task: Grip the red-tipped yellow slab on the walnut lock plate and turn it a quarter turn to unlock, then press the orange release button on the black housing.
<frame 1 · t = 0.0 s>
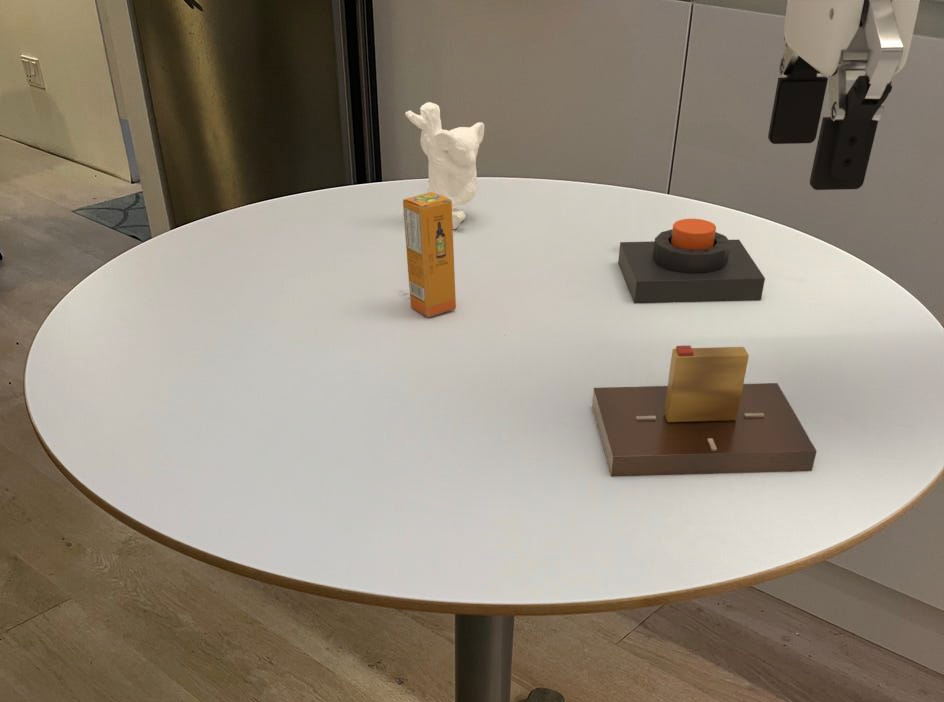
hand: (811, 163, 66), 19 cm above the table, tool pointing down, fingers open, 9 cm apart
white animal figurine: (447, 224, 112), on the table
release button: (693, 235, 96), point 4 cm above the table, slide at 0.1 cm
red-tipped yellow slab: (705, 383, 71), point 6 cm above the table, hinge at 0.0°
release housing: (686, 281, 99), on the table
supplement box: (432, 311, 95), on the table
lock plate: (693, 454, 75), on the table
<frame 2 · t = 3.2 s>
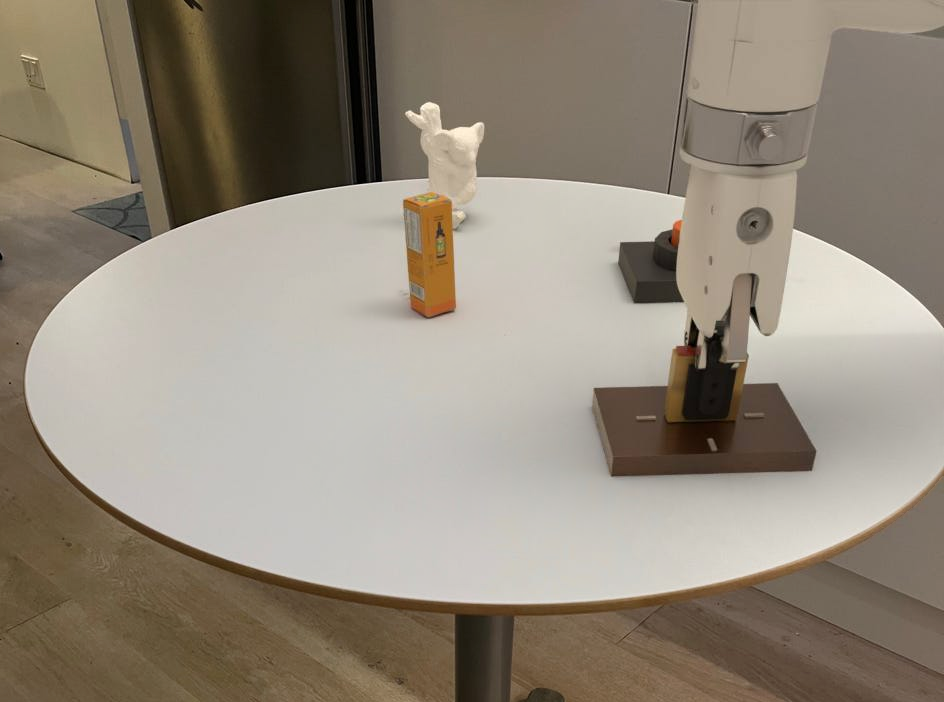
hand: (701, 408, 72), 4 cm above the table, tool pointing down, fingers closed
red-tipped yellow slab: (705, 383, 71), point 6 cm above the table, hinge at 0.0°, touching gripper
everything else where it was.
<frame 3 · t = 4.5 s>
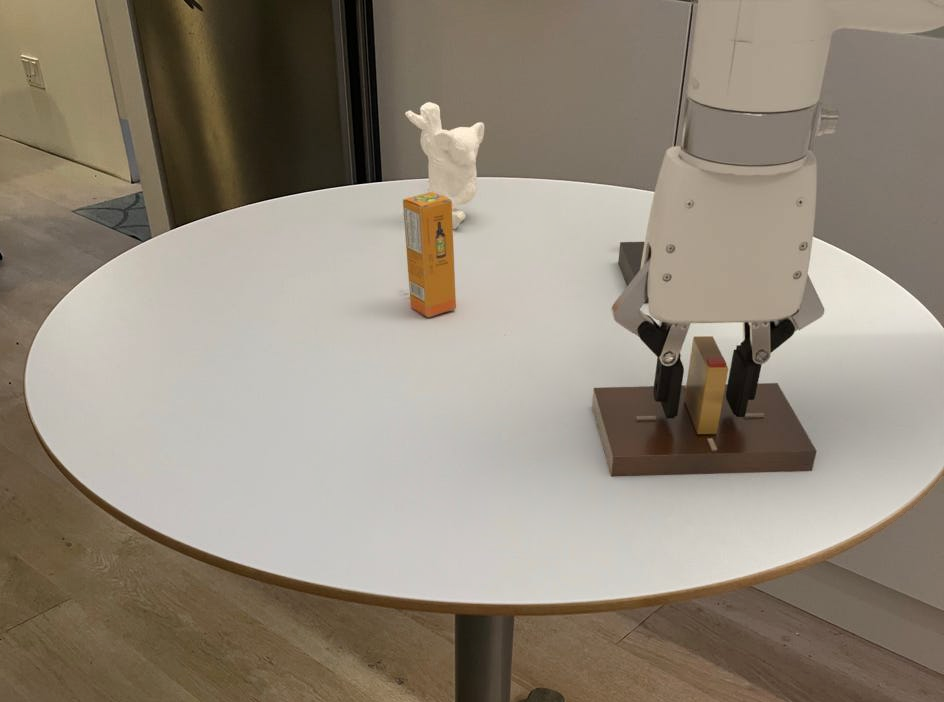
hand: (701, 406, 72), 4 cm above the table, tool pointing down, fingers open, 4 cm apart
red-tipped yellow slab: (705, 383, 71), point 6 cm above the table, hinge at 89.3°
everything else where it was.
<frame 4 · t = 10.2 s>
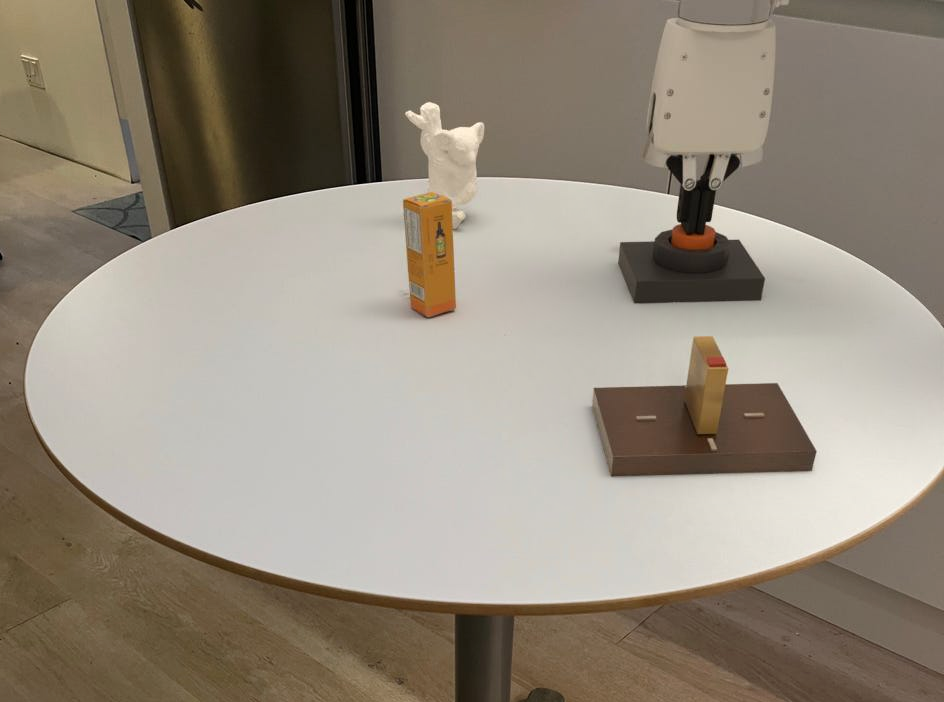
hand: (692, 229, 96), 5 cm above the table, tool pointing down, fingers closed
release button: (692, 239, 96), point 4 cm above the table, slide at -0.3 cm, touching gripper
everything else where it was.
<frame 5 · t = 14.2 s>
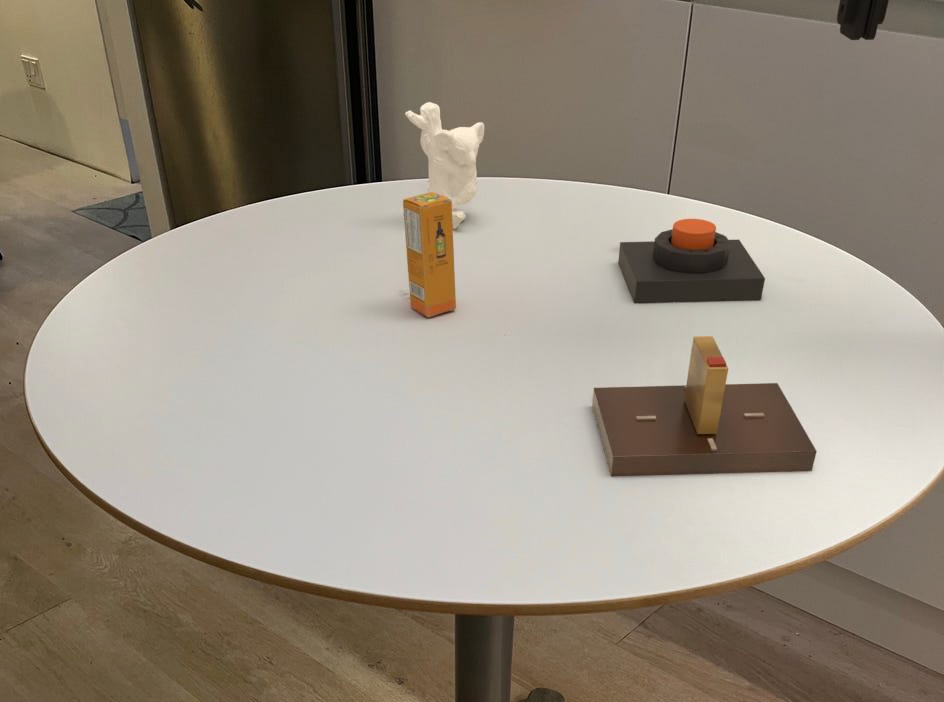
hand: (856, 35, 75), 23 cm above the table, tool pointing down, fingers closed
release button: (693, 235, 96), point 4 cm above the table, slide at 0.1 cm
everything else where it was.
at the end: red-tipped yellow slab at +89° (first picture: +0°); release button pushed in 1.1 cm at the most during the clip, back to where it started at the end; release button slide at 0.1 cm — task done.
